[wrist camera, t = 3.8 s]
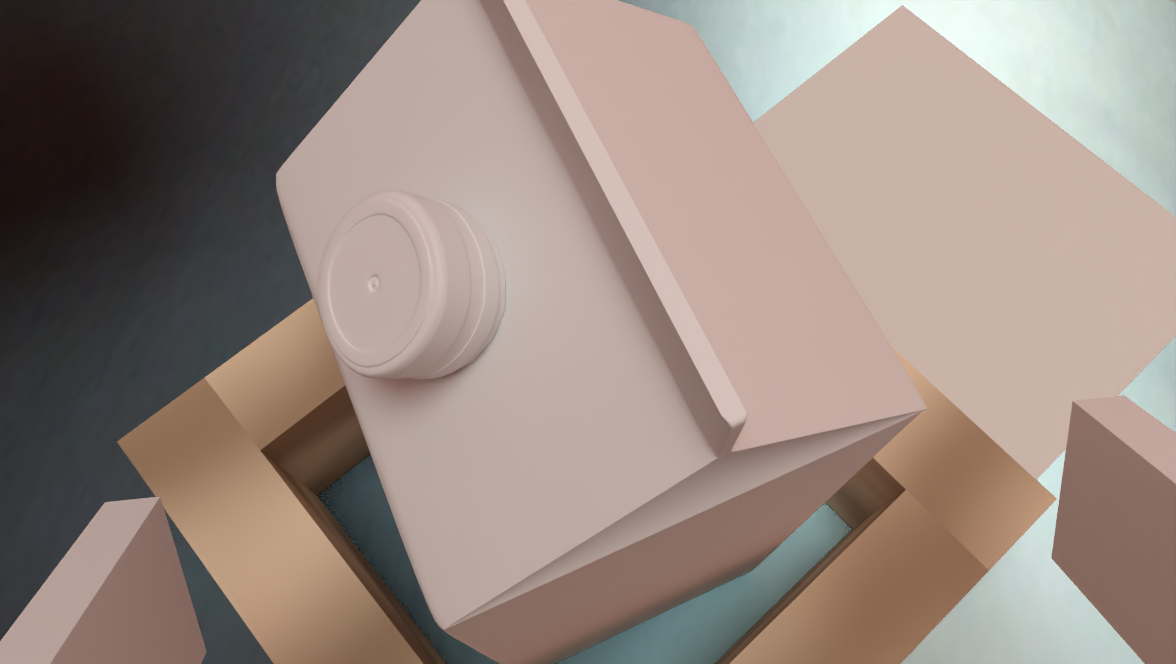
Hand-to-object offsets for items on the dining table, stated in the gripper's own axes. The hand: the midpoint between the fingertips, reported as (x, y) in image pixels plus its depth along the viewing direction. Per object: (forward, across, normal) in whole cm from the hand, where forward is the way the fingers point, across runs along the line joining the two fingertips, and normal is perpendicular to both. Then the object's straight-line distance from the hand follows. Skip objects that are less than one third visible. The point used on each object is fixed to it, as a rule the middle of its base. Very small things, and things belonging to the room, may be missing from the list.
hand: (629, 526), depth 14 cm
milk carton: (+12, 0, -7) cm, 14 cm away
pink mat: (+17, +12, -2) cm, 21 cm away
